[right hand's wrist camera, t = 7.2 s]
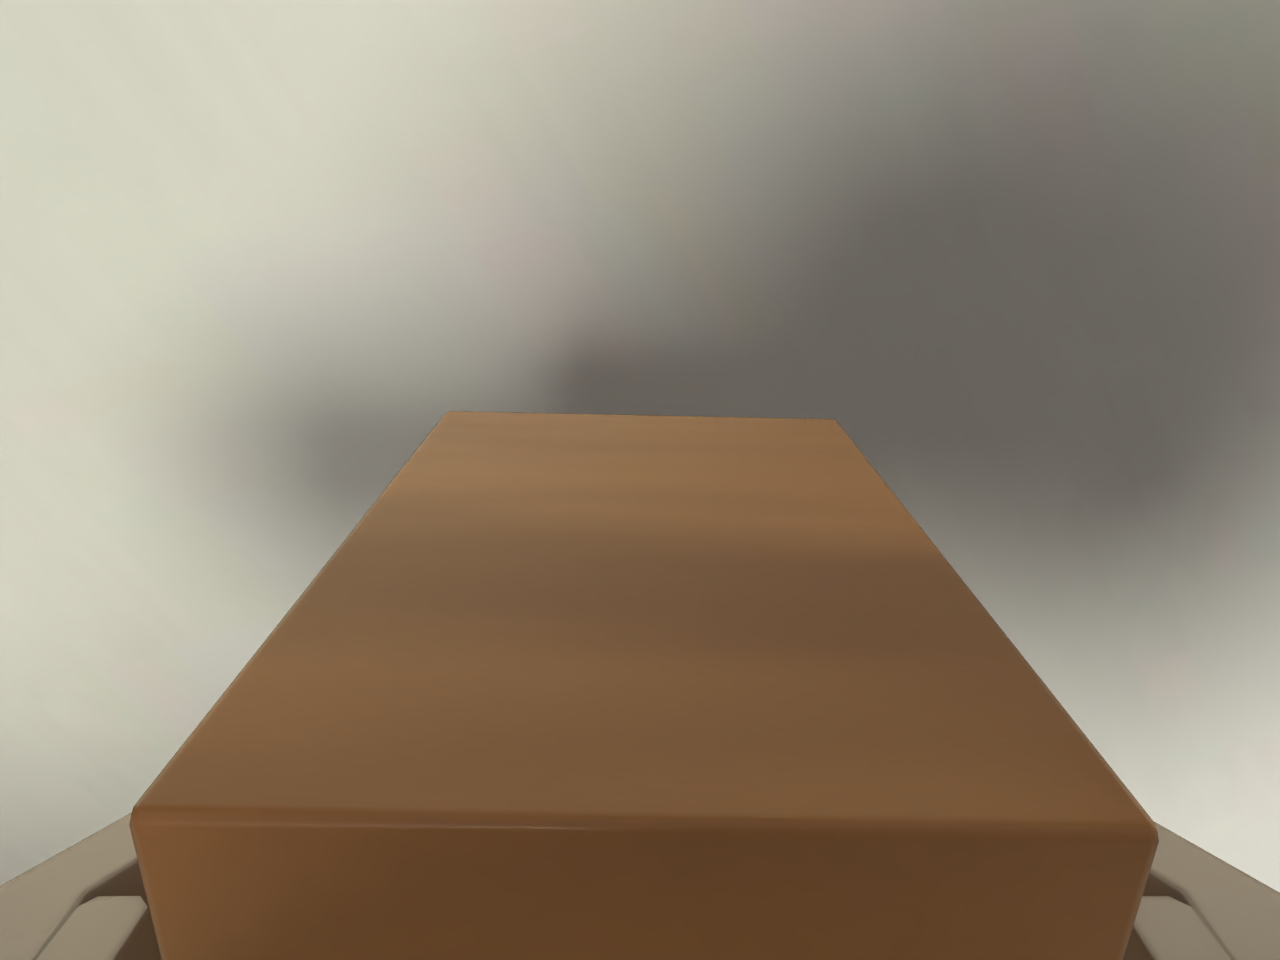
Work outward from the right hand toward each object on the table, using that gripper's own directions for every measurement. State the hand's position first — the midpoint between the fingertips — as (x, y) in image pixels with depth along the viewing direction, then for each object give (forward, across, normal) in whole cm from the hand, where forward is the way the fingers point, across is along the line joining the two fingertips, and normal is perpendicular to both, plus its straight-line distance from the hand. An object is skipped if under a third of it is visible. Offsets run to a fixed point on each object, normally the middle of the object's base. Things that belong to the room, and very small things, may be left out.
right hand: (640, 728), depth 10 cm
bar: (+3, 0, -10) cm, 10 cm away
